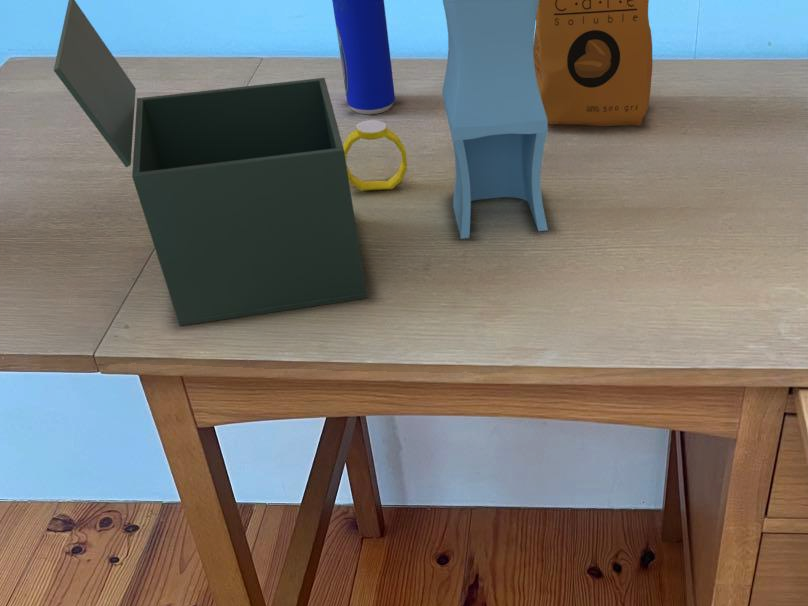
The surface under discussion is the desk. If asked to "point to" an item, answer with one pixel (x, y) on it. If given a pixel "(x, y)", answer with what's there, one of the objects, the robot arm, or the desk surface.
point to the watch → (372, 132)
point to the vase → (494, 104)
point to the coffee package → (593, 61)
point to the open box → (247, 199)
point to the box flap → (96, 81)
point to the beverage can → (365, 54)
